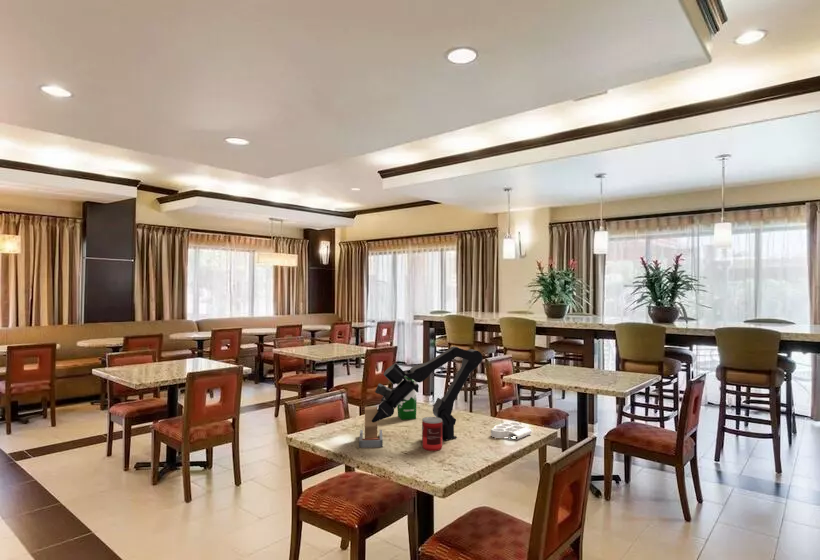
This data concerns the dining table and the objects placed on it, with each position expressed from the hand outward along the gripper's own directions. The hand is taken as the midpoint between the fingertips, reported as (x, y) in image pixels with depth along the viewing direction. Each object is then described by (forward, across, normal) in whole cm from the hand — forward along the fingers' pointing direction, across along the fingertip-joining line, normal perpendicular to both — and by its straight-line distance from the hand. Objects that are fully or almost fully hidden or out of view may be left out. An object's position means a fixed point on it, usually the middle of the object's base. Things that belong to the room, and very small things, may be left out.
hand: (373, 418), depth 195 cm
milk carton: (-2, -37, +15) cm, 40 cm away
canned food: (-11, +9, +23) cm, 27 cm away
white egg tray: (-34, -11, +46) cm, 58 cm away
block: (+7, 0, +6) cm, 9 cm away
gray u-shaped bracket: (+7, +1, +6) cm, 9 cm away
